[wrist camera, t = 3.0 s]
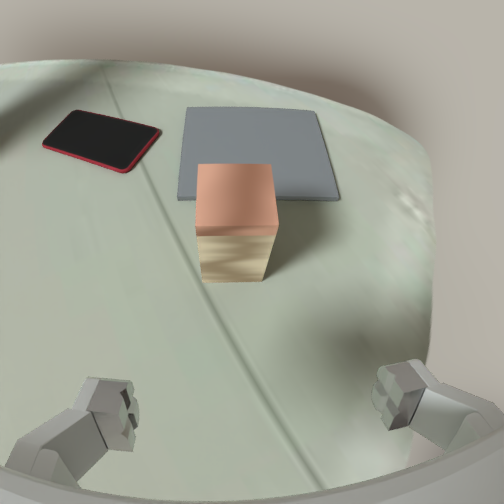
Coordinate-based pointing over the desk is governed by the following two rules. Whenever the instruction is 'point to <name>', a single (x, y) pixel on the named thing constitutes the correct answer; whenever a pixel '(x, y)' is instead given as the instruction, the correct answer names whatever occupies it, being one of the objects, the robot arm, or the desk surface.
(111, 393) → the robot arm
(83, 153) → the smartphone
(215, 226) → the beech block
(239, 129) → the rubber mat
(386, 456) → the desk surface
